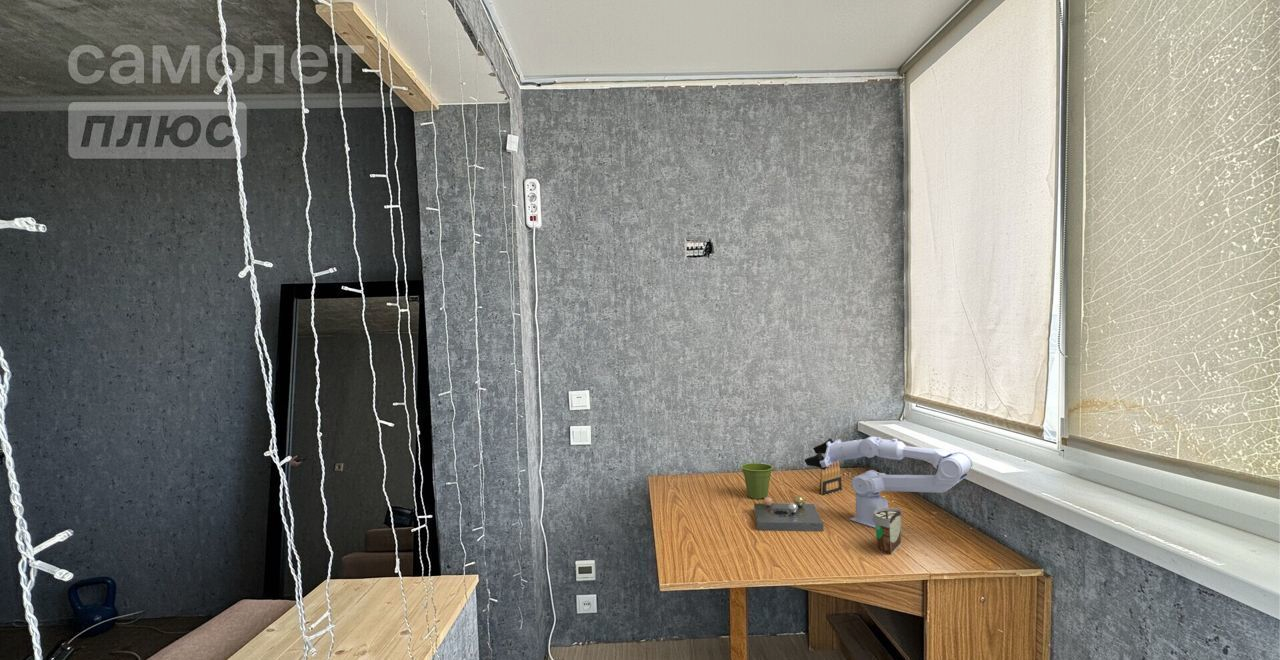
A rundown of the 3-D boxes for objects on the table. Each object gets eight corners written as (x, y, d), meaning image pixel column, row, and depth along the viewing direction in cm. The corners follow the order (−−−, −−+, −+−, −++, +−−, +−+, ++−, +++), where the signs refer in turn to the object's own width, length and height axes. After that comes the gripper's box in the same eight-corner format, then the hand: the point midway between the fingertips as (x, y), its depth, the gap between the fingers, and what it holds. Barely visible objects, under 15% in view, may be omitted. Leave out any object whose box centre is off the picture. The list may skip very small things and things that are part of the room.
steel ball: (800, 513, 193) (799, 503, 193) (793, 515, 192) (793, 505, 191) (792, 510, 196) (792, 500, 196) (786, 512, 194) (785, 502, 194)
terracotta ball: (774, 506, 201) (774, 497, 201) (767, 507, 200) (767, 499, 200) (768, 503, 204) (767, 495, 204) (761, 505, 202) (761, 496, 202)
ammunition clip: (823, 495, 219) (822, 463, 219) (819, 494, 221) (818, 462, 220) (842, 489, 225) (841, 458, 225) (837, 488, 227) (837, 457, 226)
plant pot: (777, 501, 214) (776, 470, 214) (744, 501, 215) (743, 471, 214) (770, 491, 226) (769, 462, 226) (739, 492, 227) (738, 463, 226)
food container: (880, 537, 176) (880, 504, 176) (902, 542, 173) (901, 508, 172) (866, 551, 167) (866, 516, 167) (889, 556, 163) (888, 520, 163)
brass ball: (807, 506, 200) (807, 495, 200) (799, 508, 198) (799, 497, 198) (799, 503, 203) (798, 493, 203) (791, 505, 201) (791, 495, 201)
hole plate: (813, 511, 202) (813, 503, 202) (823, 531, 183) (823, 523, 183) (754, 510, 205) (754, 503, 205) (758, 530, 186) (757, 522, 186)
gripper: (847, 429, 200) (813, 435, 210) (832, 451, 190) (796, 457, 199) (857, 447, 201) (822, 453, 210) (841, 470, 190) (806, 475, 200)
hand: (810, 456), depth 205 cm, fingers open, 7 cm apart
